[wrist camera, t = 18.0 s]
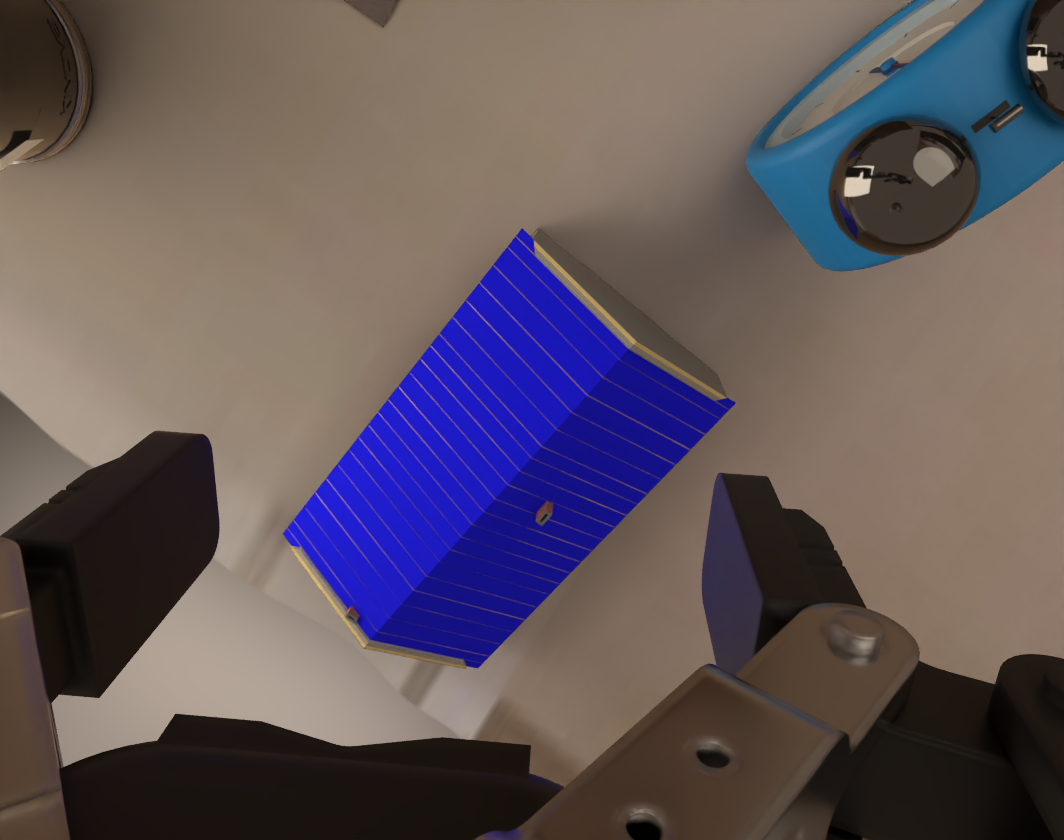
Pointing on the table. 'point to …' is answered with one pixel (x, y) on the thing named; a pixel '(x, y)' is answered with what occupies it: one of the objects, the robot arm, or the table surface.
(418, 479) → the roof
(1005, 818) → the robot arm
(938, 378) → the table surface
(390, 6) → the booklet
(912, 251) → the alarm clock
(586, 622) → the table surface
